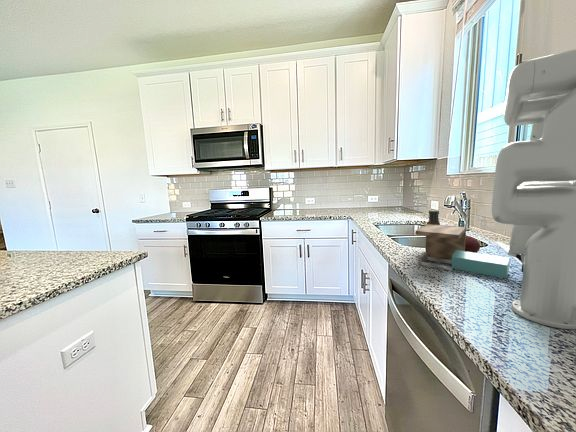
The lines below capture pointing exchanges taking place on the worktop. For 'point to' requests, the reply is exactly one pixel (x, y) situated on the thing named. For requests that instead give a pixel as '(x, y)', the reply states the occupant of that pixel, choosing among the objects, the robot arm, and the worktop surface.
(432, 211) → the sauce bottle
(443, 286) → the worktop surface
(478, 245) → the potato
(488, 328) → the worktop surface
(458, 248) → the overhang shelf
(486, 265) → the teal rectangular block
